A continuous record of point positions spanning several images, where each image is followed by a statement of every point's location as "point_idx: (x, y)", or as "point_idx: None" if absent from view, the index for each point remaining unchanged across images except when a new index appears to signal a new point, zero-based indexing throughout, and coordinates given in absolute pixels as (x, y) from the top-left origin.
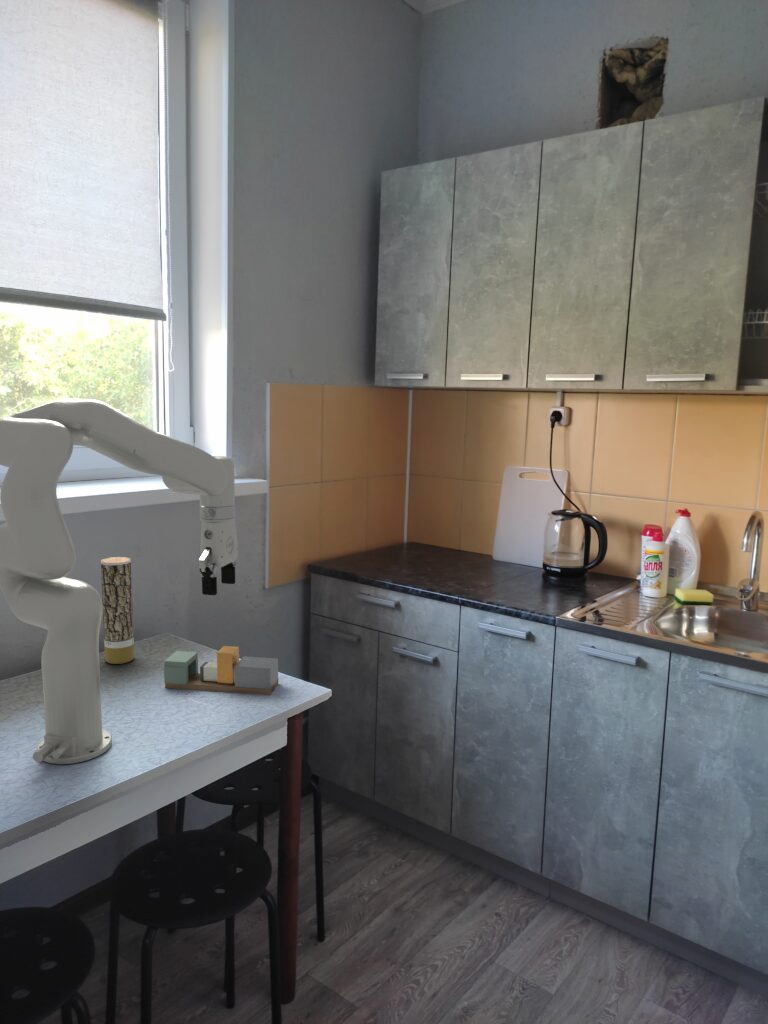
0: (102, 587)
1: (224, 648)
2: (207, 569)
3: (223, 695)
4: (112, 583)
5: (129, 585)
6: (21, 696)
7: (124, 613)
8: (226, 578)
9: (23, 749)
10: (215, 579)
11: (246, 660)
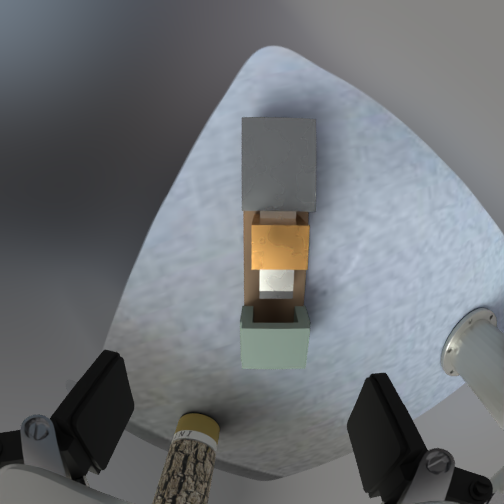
0: None
1: (272, 260)
2: (489, 487)
3: (322, 223)
4: None
5: None
6: (335, 453)
7: (196, 479)
8: (118, 405)
9: (458, 381)
10: (418, 437)
11: (271, 193)
